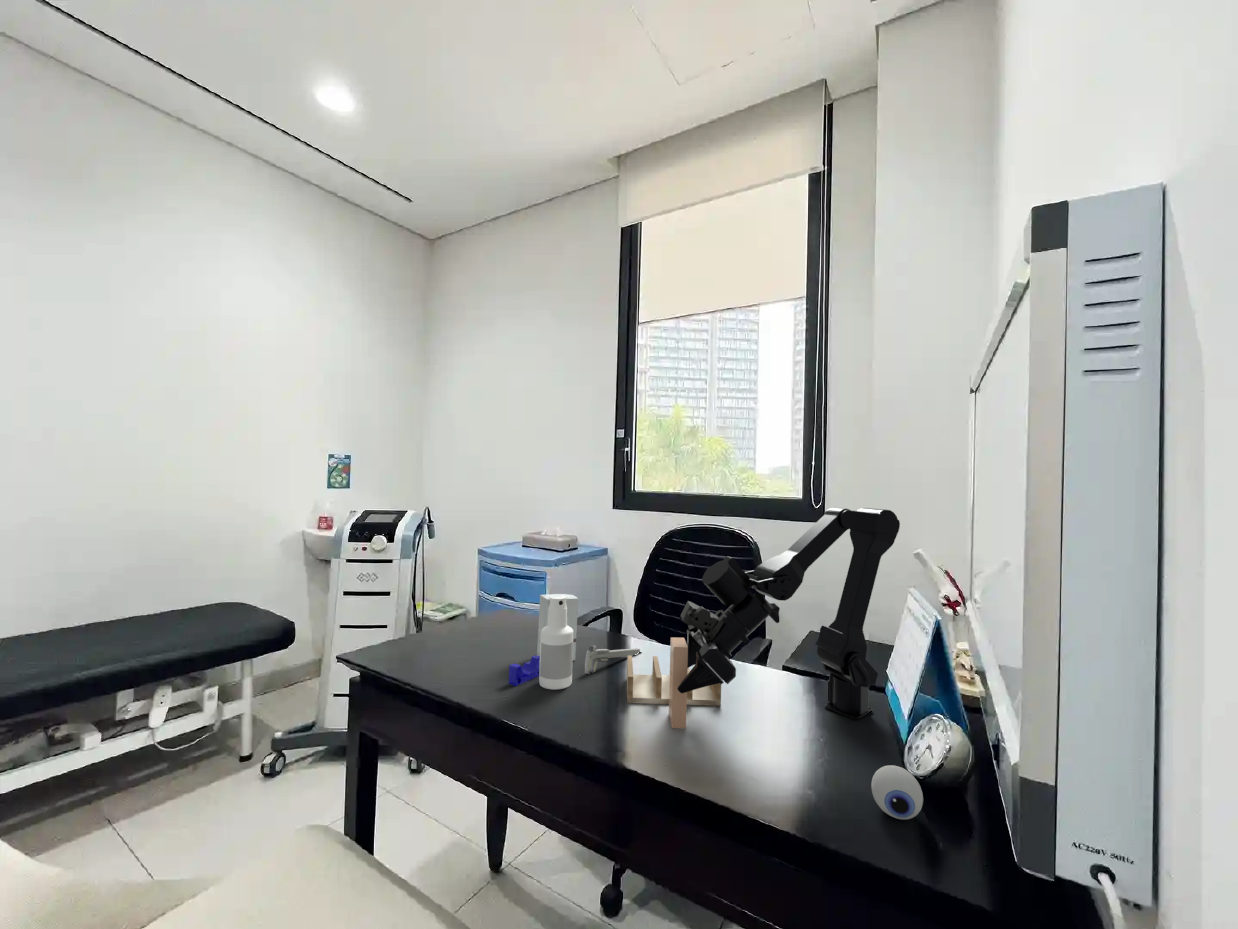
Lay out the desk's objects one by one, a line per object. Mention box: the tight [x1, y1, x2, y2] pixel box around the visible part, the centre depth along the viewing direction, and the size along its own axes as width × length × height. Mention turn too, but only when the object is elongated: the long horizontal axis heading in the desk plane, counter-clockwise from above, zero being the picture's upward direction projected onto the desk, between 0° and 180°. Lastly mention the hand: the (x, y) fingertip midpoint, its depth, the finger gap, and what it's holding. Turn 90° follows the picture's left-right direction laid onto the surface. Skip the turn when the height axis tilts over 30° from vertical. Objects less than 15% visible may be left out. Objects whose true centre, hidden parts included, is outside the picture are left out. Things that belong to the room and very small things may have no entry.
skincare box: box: [536, 593, 579, 661], centre depth 123 cm, size 8×6×15 cm
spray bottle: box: [538, 595, 574, 691], centre depth 108 cm, size 7×7×18 cm
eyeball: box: [870, 764, 924, 821], centre depth 68 cm, size 6×6×6 cm
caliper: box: [584, 644, 641, 675], centre depth 121 cm, size 20×1×6 cm, turn 142°
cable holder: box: [508, 654, 540, 687], centre depth 110 cm, size 8×4×4 cm, turn 146°
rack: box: [626, 655, 722, 707], centre depth 105 cm, size 18×12×5 cm, turn 90°
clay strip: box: [668, 637, 688, 729], centre depth 93 cm, size 2×6×14 cm, turn 0°
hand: (676, 680), depth 93 cm, fingers open, 9 cm apart
